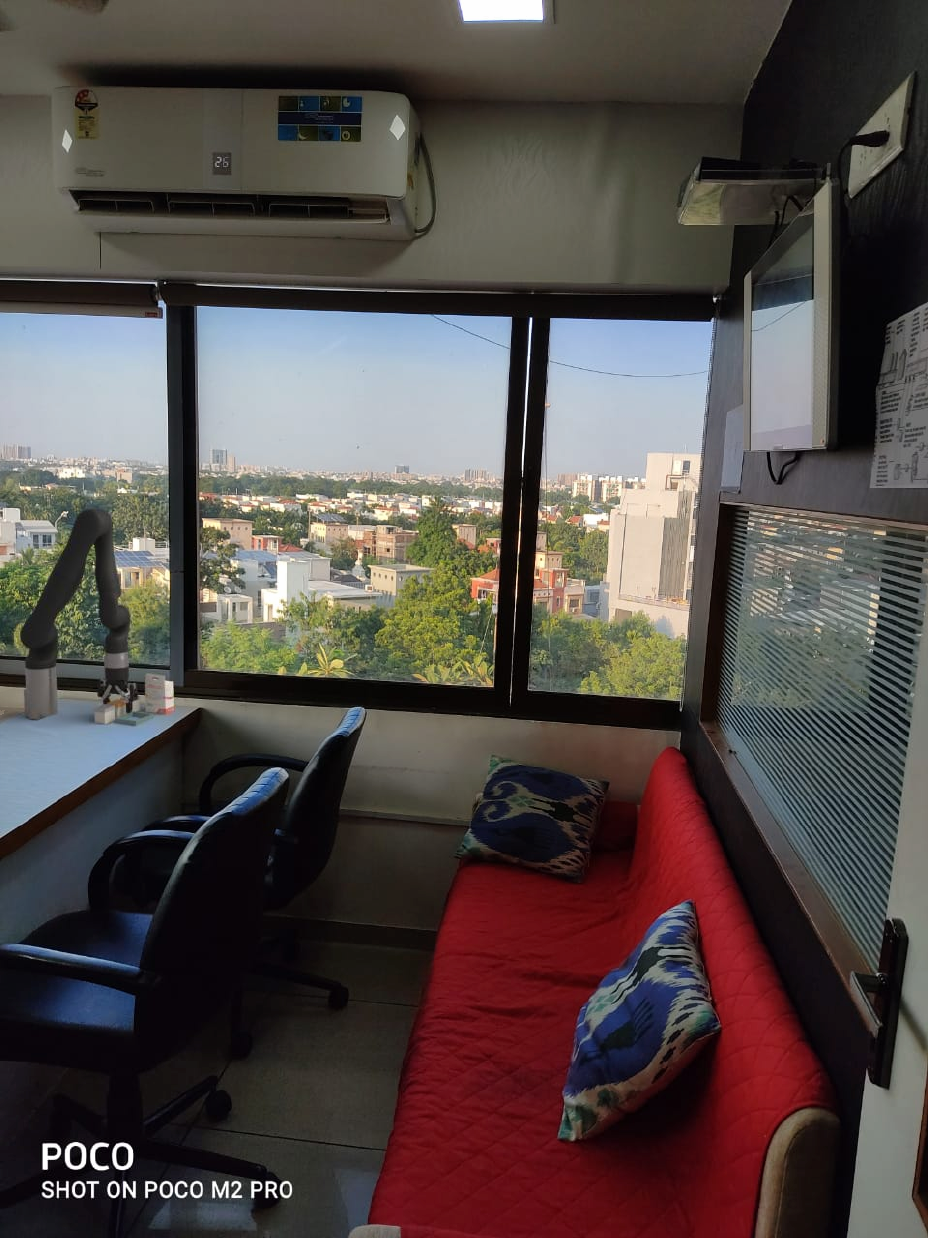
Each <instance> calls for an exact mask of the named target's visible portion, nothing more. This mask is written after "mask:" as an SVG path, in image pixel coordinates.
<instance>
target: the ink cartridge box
mask: <svg viewBox="0 0 928 1238" xmlns="http://www.w3.org/2000/svg"><path fill="white" fill-rule="evenodd" d="M144 678H145V681H144V694H145V695H144V696H145V698H144V700H145V701H144V702H145V703H144V704H145V713H151V714H159V715H168V714H170V713H173V712H174V711H175V701H174V700H175V698H174V681H171V680H166V676H165V675H161V674H155V673H145V677H144ZM155 678H156V679H155Z"/></svg>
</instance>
